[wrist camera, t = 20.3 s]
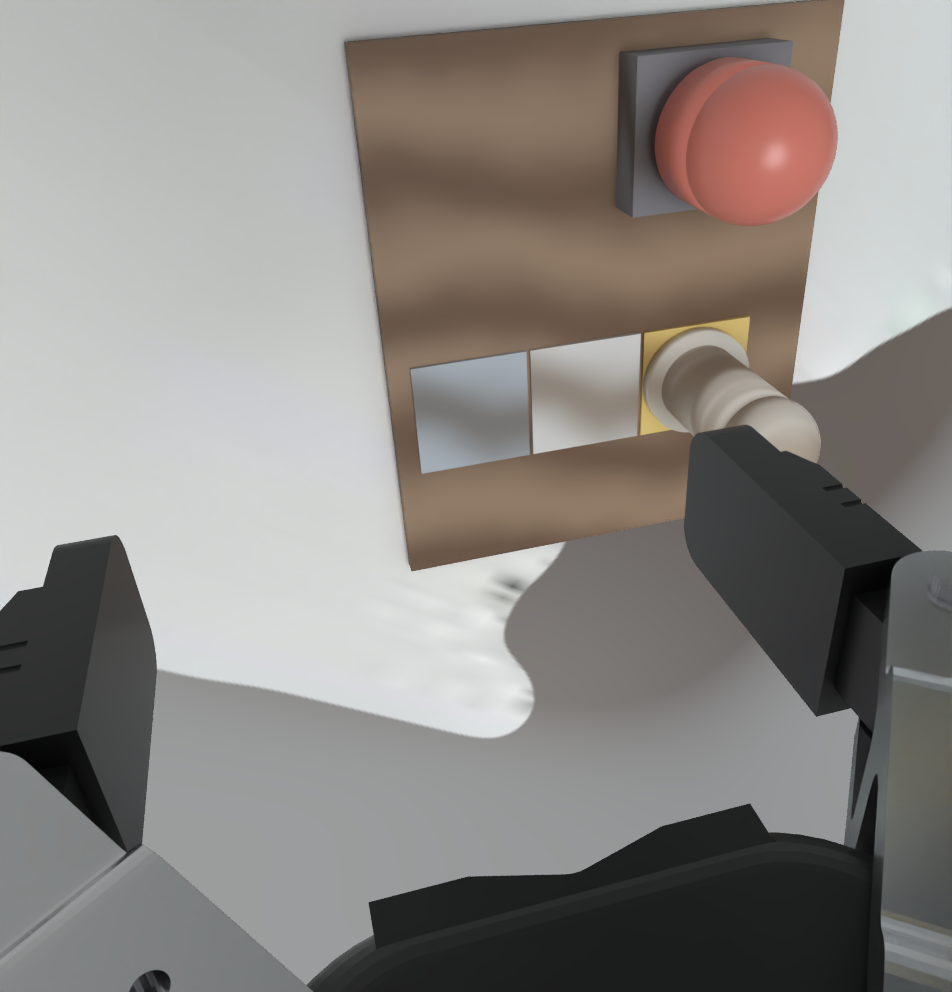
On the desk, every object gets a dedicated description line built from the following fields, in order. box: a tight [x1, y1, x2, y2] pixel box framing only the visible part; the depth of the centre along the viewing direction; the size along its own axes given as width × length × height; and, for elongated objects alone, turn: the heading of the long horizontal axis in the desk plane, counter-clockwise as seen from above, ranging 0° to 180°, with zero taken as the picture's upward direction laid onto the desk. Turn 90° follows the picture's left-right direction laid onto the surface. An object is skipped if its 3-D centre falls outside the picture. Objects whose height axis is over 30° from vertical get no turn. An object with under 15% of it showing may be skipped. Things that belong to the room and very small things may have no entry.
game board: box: [345, 0, 844, 571], centre depth 44 cm, size 26×22×3 cm
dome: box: [655, 57, 838, 226], centre depth 35 cm, size 6×6×6 cm
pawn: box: [643, 327, 821, 463], centre depth 43 cm, size 6×6×10 cm
